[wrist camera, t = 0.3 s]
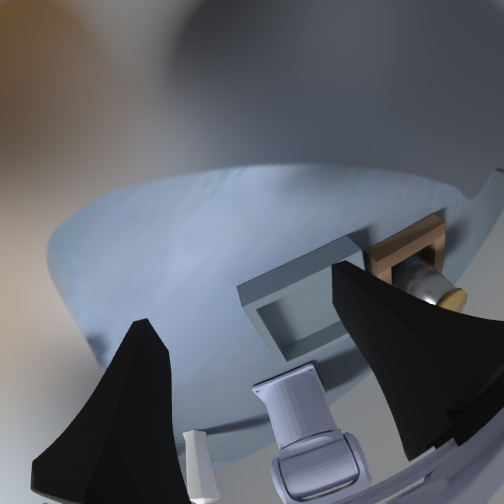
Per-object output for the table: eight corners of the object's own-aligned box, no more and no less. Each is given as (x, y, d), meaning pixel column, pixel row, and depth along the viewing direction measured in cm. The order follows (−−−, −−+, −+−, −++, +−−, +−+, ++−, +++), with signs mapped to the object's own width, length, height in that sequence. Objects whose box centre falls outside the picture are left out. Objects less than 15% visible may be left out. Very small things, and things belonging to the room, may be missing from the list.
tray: (359, 309, 27) (370, 325, 25) (275, 350, 27) (281, 368, 25) (346, 235, 22) (361, 250, 20) (236, 286, 22) (242, 306, 20)
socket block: (430, 275, 27) (440, 285, 26) (372, 311, 28) (380, 323, 26) (432, 213, 23) (445, 221, 21) (364, 250, 23) (376, 262, 21)
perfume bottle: (193, 440, 37) (205, 515, 25) (176, 433, 35) (186, 515, 22) (214, 434, 37) (230, 513, 24) (197, 427, 35) (211, 513, 22)
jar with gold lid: (418, 270, 26) (462, 315, 20) (387, 289, 27) (429, 340, 20) (418, 238, 24) (471, 283, 17) (385, 258, 24) (436, 310, 17)
